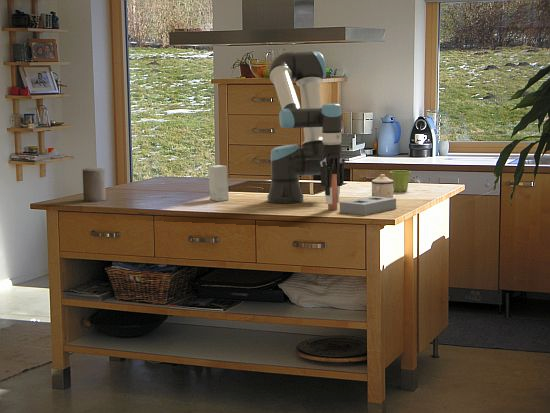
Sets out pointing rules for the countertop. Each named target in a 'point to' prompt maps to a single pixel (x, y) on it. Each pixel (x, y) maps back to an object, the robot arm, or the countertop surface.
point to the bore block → (367, 205)
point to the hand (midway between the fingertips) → (332, 202)
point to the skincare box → (218, 183)
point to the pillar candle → (94, 184)
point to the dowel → (333, 193)
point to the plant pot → (400, 180)
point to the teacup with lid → (382, 187)
